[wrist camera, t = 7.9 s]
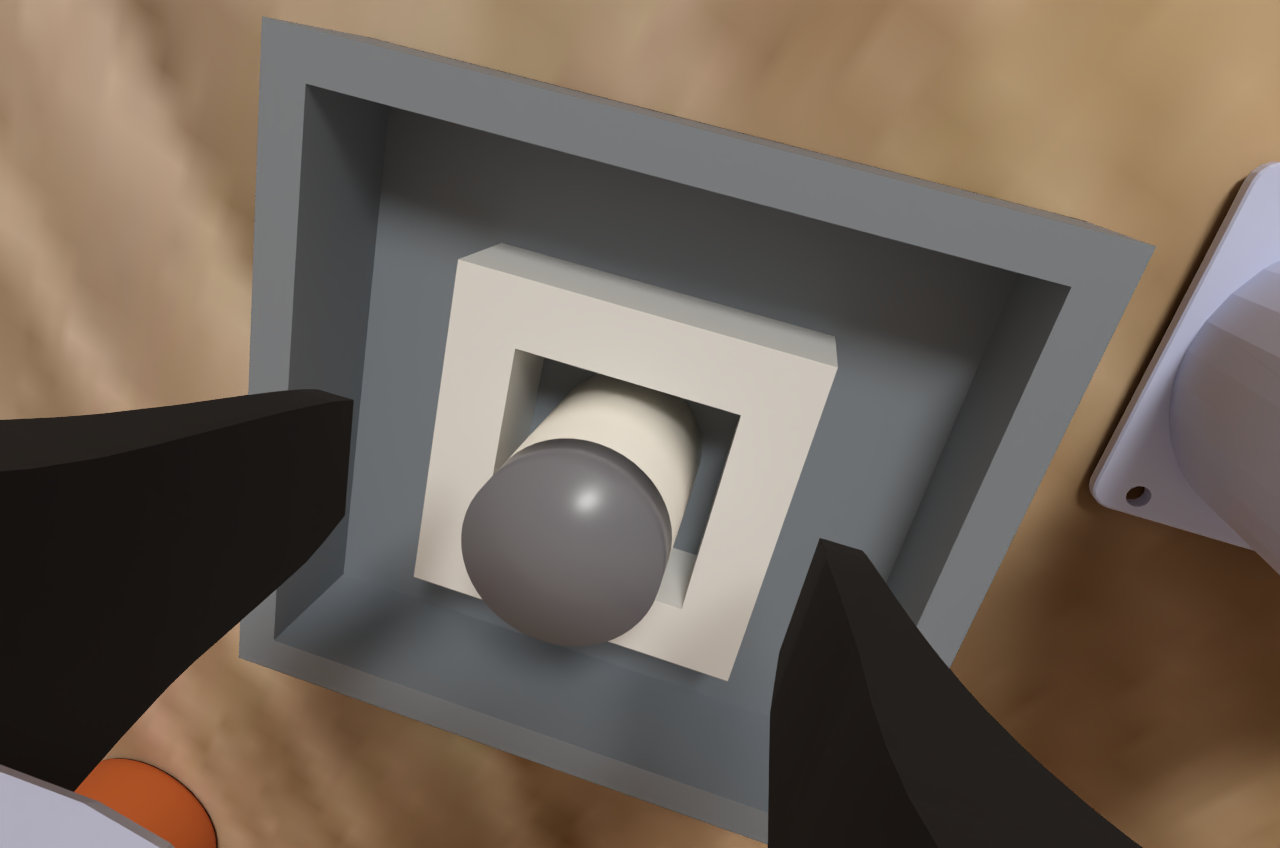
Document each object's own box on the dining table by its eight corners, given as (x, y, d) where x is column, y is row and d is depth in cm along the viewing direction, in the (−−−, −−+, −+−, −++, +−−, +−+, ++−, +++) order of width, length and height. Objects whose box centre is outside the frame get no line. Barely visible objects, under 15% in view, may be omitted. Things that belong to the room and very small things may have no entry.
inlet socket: (835, 336, 19) (837, 367, 16) (737, 620, 22) (727, 680, 19) (502, 243, 19) (458, 259, 17) (456, 529, 23) (413, 576, 20)
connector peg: (734, 438, 20) (705, 555, 14) (639, 540, 22) (581, 680, 16) (611, 338, 20) (534, 419, 14) (524, 448, 21) (424, 560, 16)
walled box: (1083, 220, 17) (1155, 246, 14) (843, 756, 23) (848, 873, 20) (369, 37, 19) (261, 16, 15) (322, 580, 25) (238, 657, 22)
